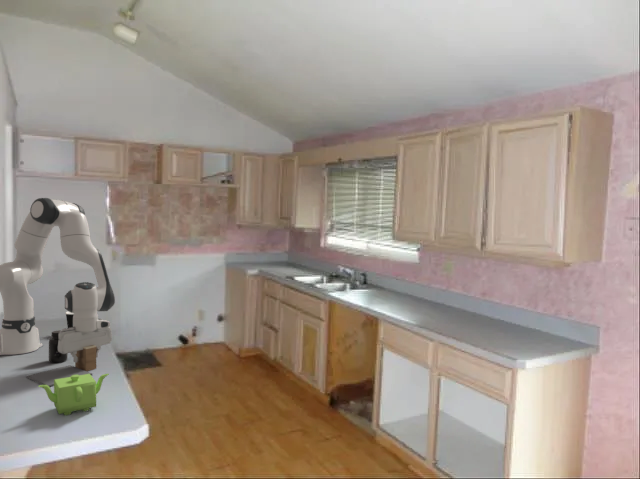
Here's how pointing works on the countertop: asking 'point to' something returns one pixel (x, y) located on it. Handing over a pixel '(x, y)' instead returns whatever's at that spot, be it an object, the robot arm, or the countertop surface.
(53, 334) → the supplement bottle
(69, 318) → the dixie cup
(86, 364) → the slab
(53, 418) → the countertop surface
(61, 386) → the teapot
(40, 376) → the mat
